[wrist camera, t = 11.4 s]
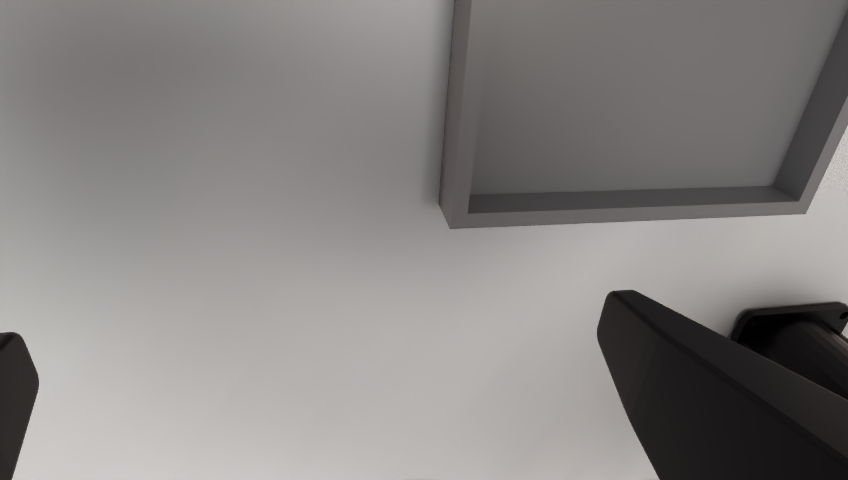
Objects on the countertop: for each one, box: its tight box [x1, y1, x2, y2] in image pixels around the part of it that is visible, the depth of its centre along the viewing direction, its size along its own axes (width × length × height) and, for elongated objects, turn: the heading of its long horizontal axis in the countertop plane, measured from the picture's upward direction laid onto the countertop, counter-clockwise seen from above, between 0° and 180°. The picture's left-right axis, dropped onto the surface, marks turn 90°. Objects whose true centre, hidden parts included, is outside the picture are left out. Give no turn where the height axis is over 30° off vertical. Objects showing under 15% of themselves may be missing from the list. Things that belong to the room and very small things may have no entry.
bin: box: [439, 0, 848, 229], centre depth 20 cm, size 15×10×2 cm
